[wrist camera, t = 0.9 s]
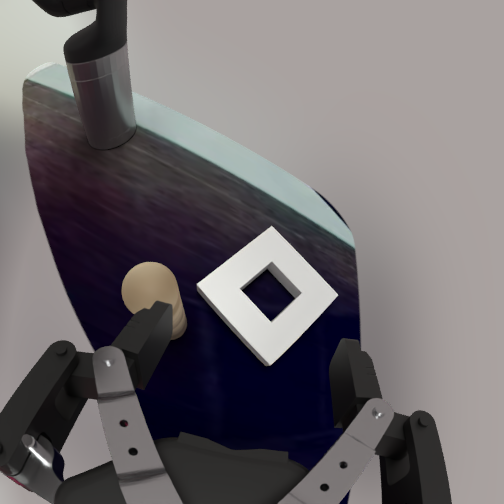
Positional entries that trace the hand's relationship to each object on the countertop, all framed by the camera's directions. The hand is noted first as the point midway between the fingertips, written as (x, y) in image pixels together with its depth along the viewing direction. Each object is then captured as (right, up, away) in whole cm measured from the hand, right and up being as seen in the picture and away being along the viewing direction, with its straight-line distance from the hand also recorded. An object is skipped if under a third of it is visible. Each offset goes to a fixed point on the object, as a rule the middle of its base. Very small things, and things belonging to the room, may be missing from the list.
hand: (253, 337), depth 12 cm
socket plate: (+2, -2, +22) cm, 22 cm away
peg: (-10, -4, +18) cm, 21 cm away
